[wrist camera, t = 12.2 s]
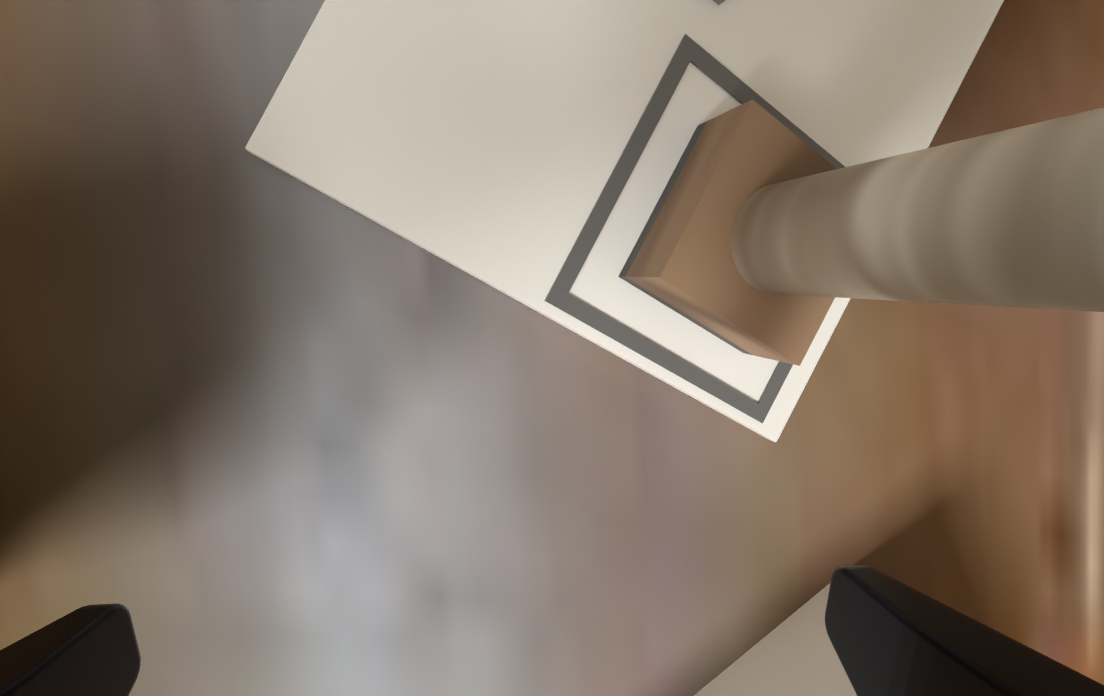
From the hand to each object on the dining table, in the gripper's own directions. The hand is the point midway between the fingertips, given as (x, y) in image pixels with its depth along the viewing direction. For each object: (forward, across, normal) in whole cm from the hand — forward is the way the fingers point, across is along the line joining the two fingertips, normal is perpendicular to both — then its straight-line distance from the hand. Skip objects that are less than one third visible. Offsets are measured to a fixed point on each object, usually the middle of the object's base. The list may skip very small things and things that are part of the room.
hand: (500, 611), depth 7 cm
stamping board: (+15, -7, -10) cm, 19 cm away
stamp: (+14, -8, -4) cm, 16 cm away
